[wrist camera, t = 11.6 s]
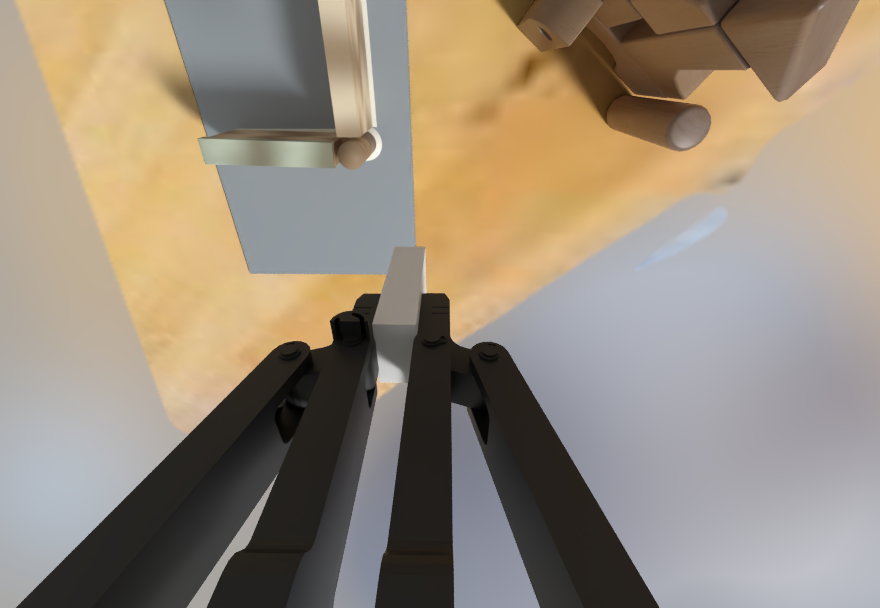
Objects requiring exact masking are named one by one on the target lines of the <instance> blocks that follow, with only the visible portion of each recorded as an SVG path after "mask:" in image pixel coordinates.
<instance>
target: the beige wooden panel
mask: <svg viewBox="0 0 880 608" xmlns="http://www.w3.org/2000/svg"><path fill="white" fill-rule="evenodd" d="M318 5H319V13H320V20H321V27H322V34H323V41H324V48H325V56H326V63H327V70H328V77H329V84H330V92H331V99H332V106H333V113H334V120H335V127H336V135H337V137H352V138H350V139H349V140H347V141H346V142H345V143H343V144H342V145H341V146H340V147H339V149H338V154H337V155H338V160H339V162H340V163H341V165H342V166H344V167H345V168H347V169H350V170H355V169H358V168H359V167H360V166H361V165H362V164H363V163H364V162H365V161H366V160H367V159H368V158H369V156H370V155H371V154H372V153H373V152H374V151H375V149H376V140H375V138H374V136H373V135H372V134H371V133H369V132H367V131H368V130H370V129H371V128H372V127H373V126H372V114H371V103H370V92H369V81H368V70H367V59H366V48H365V36H364V25H363V14H362V3H361V0H318Z"/></svg>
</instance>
